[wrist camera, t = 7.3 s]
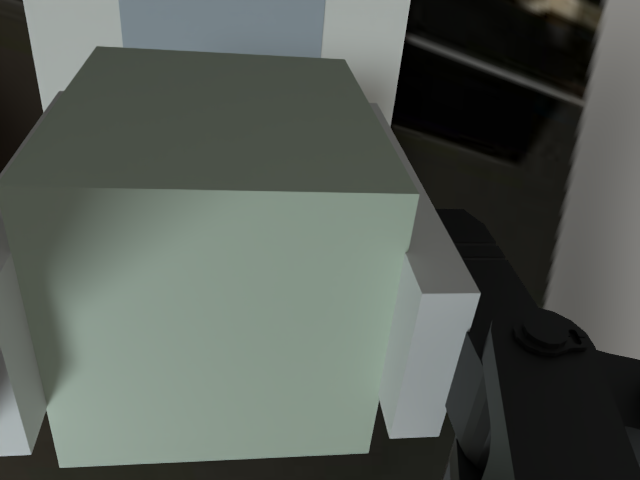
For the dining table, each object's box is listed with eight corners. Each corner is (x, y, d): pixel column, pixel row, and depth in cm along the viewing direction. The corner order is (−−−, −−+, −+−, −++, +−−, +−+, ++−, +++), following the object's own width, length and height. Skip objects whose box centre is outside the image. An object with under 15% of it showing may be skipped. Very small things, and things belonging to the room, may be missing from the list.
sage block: (96, 46, 12) (-6, 186, 7) (344, 59, 12) (419, 194, 7) (120, 255, 14) (59, 467, 9) (323, 256, 15) (367, 453, 10)
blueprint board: (16, -84, 17) (8, -81, 17) (412, -54, 19) (418, -50, 18) (86, 315, 26) (82, 328, 25) (356, 311, 28) (359, 323, 27)
